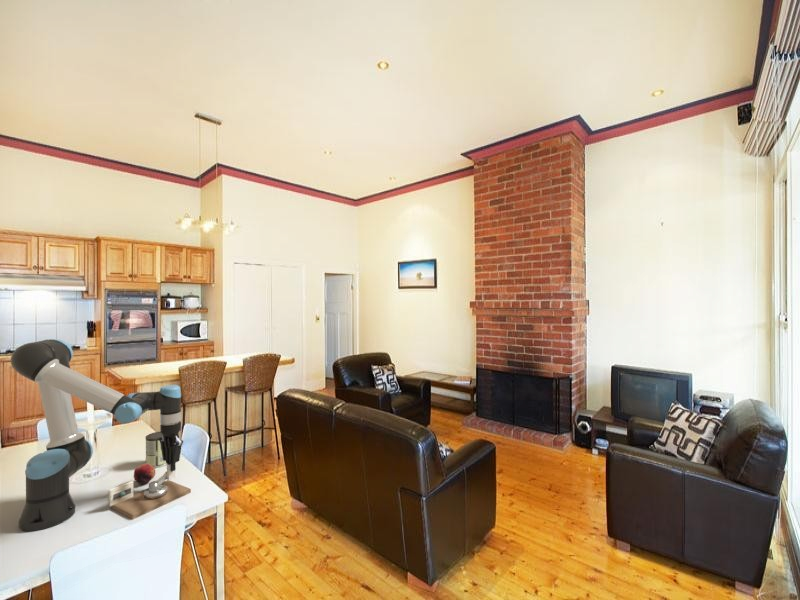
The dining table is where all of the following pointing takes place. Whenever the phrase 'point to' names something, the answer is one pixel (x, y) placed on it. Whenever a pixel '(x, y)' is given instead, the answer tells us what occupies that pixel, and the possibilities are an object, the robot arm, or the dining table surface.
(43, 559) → the dining table surface
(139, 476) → the fruit
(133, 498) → the stand
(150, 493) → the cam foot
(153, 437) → the coffee can
